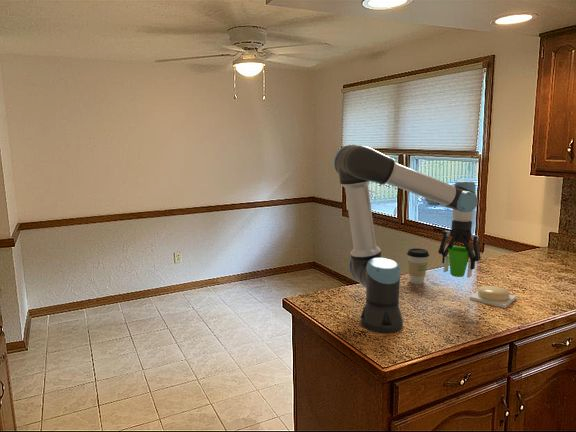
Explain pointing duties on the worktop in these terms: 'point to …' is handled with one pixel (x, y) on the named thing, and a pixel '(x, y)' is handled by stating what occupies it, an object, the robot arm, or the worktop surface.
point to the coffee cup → (417, 264)
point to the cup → (458, 260)
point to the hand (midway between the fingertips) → (457, 273)
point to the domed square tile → (493, 296)
